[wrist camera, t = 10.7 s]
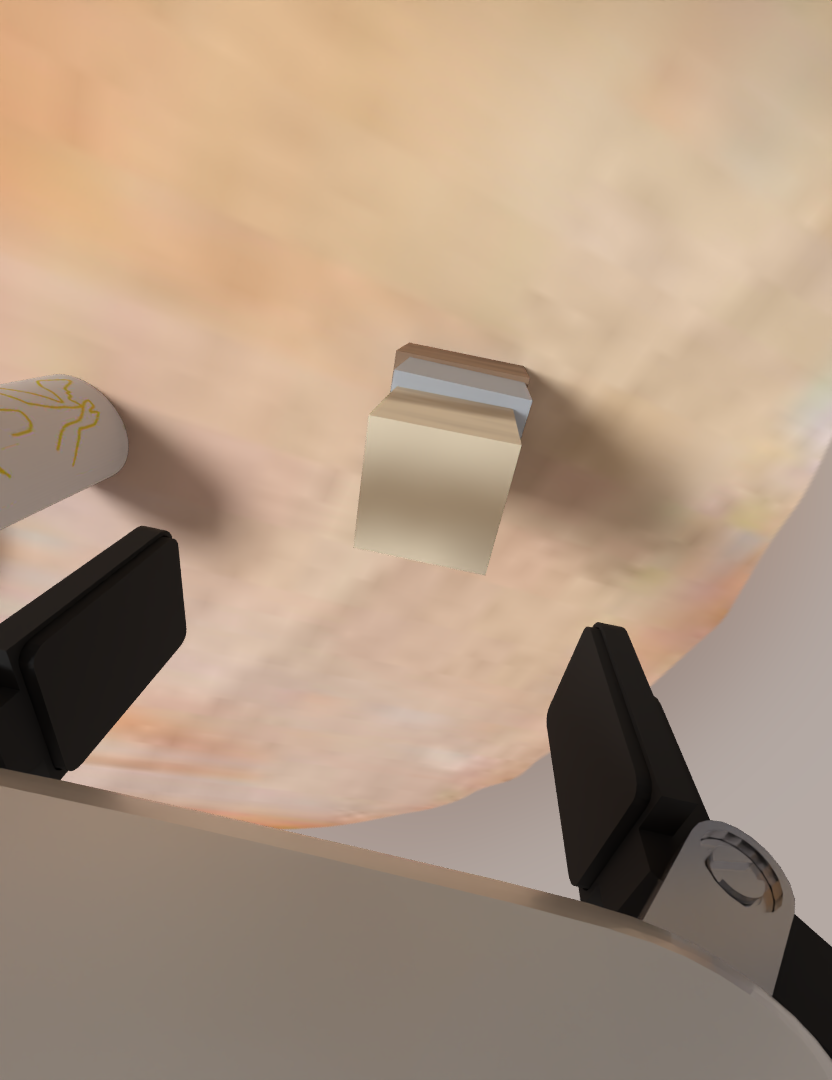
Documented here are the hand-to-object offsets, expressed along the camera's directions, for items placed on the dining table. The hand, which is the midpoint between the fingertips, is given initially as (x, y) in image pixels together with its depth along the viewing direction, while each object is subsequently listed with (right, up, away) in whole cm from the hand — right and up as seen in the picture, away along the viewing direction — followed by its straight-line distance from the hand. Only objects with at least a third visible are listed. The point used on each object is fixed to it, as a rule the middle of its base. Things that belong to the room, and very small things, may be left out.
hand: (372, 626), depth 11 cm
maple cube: (+2, +6, +12) cm, 14 cm away
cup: (-25, +11, +26) cm, 37 cm away
